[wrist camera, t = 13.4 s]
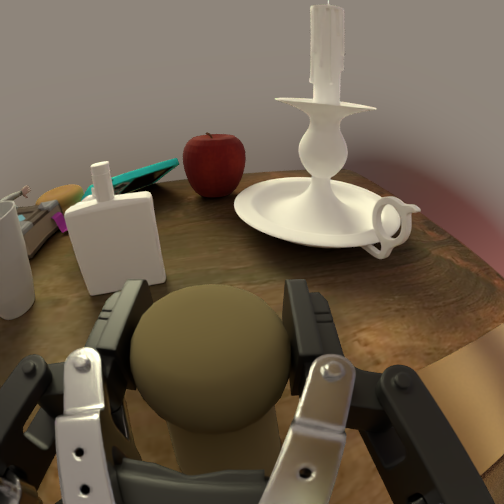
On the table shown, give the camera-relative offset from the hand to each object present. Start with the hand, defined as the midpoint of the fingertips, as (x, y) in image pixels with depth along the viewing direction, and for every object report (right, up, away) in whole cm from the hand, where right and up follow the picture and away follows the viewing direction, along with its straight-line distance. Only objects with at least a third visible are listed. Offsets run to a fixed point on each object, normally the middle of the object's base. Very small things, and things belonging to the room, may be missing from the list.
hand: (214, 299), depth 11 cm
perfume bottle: (-11, -2, +16) cm, 19 cm away
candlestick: (+10, +4, +25) cm, 27 cm away
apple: (-4, +11, +35) cm, 37 cm away
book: (-34, +3, +23) cm, 41 cm away
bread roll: (-32, +8, +27) cm, 43 cm away
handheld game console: (-19, +14, +33) cm, 40 cm away
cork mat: (+22, -9, +4) cm, 24 cm away
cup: (-23, -4, +12) cm, 27 cm away
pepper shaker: (0, -10, +3) cm, 10 cm away
